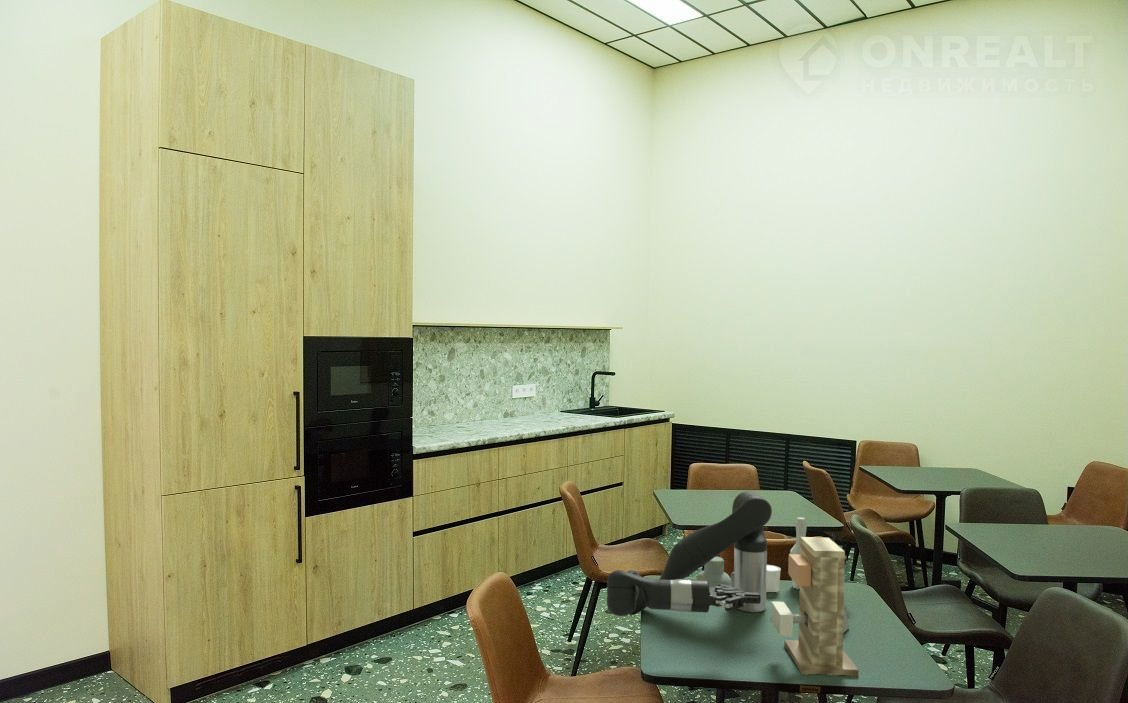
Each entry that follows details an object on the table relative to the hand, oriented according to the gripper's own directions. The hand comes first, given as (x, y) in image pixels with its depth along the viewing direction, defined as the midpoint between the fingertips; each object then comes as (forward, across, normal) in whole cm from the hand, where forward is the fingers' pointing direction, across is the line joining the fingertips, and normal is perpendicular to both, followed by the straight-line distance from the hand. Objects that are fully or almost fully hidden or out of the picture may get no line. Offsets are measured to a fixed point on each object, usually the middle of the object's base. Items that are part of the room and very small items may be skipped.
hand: (759, 598), depth 178 cm
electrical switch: (+24, -19, -15) cm, 34 cm away
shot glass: (+14, -51, -15) cm, 55 cm away
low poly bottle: (+24, -54, -15) cm, 61 cm away
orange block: (+12, 0, +5) cm, 13 cm away
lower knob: (+8, 0, -7) cm, 11 cm away
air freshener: (-3, -49, -15) cm, 51 cm away
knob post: (+15, -1, -15) cm, 21 cm away
